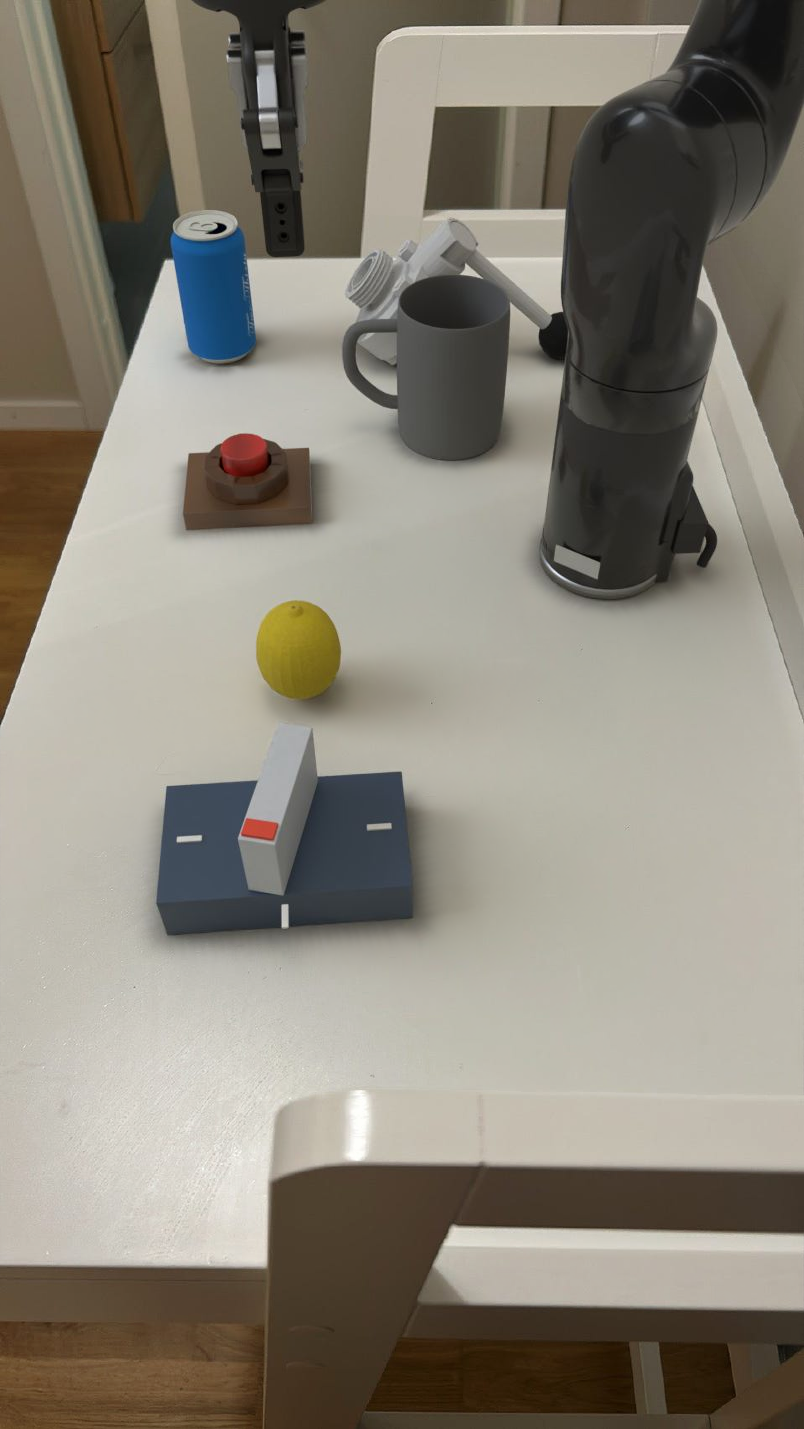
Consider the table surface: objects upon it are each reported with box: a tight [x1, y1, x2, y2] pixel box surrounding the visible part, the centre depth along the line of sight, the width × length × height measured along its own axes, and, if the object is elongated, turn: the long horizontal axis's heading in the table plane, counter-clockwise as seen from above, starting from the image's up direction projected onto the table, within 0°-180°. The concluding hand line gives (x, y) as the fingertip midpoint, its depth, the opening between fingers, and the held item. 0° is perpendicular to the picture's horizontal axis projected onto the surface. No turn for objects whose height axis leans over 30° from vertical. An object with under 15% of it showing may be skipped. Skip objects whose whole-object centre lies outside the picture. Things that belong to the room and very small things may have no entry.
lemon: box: [255, 600, 342, 700], centre depth 68 cm, size 6×6×8 cm
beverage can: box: [170, 209, 257, 365], centre depth 96 cm, size 6×6×12 cm
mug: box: [341, 274, 511, 461], centre depth 87 cm, size 14×9×12 cm
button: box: [221, 432, 269, 477], centre depth 83 cm, size 4×4×2 cm
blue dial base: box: [155, 771, 414, 936], centre depth 61 cm, size 14×12×4 cm
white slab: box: [238, 722, 319, 895], centre depth 58 cm, size 8×2×5 cm, turn 169°
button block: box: [182, 438, 313, 531], centre depth 84 cm, size 10×8×4 cm
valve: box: [344, 217, 568, 366], centre depth 98 cm, size 10×20×15 cm
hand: (285, 250), depth 61 cm, fingers closed
